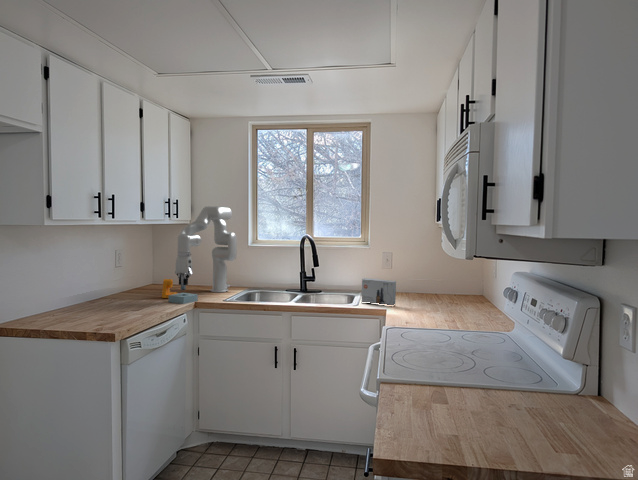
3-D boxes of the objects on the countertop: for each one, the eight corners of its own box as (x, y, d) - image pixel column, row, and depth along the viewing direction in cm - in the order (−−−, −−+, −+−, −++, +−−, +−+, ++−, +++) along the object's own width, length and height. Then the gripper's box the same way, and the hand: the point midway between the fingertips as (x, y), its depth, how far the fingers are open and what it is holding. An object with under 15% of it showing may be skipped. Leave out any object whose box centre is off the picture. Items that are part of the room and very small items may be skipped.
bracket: (173, 299, 268) (173, 280, 267) (161, 299, 267) (162, 280, 267) (177, 296, 278) (177, 278, 278) (166, 296, 278) (166, 277, 277)
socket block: (182, 298, 269) (183, 292, 269) (197, 300, 264) (197, 294, 264) (168, 301, 258) (168, 295, 258) (183, 303, 253) (183, 297, 253)
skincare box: (360, 303, 270) (361, 278, 269) (364, 302, 274) (364, 277, 274) (393, 307, 260) (393, 281, 259) (395, 306, 265) (396, 280, 264)
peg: (183, 289, 263) (183, 273, 262) (186, 289, 261) (187, 273, 261) (179, 289, 260) (179, 273, 260) (183, 290, 259) (183, 273, 258)
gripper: (198, 255, 260) (197, 285, 260) (178, 253, 267) (177, 283, 268) (189, 255, 253) (189, 286, 254) (169, 254, 260) (168, 284, 261)
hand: (183, 284), depth 261 cm, fingers closed on peg, 3 cm apart
